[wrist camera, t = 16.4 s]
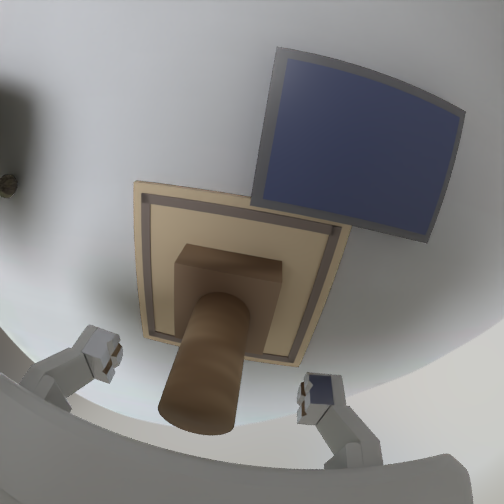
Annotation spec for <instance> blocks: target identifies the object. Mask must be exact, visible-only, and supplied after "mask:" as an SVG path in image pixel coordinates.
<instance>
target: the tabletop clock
mask: <svg viewBox="0 0 504 504" xmlns="http://www.w3.org/2000/svg"><path fill="white" fill-rule="evenodd" d="M16 189H17V181H16V179H15V177H14V176H13V175H4V176H3V177H2V178H1V179H0V196H1V197H3V198H10V197H11V196H12V195H13V194H14V193H15V192H16Z"/></svg>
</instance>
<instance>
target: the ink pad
mask: <svg viewBox="0 0 504 504" xmlns="http://www.w3.org/2000/svg"><path fill="white" fill-rule="evenodd" d="M465 113H466V111H464V110H462V109H460V108H458V107H457V106H455V105H453V104H451V103H449V102H447V101H445V100H443V99H441V98H439V97H437V96H435V95H433V94H431V93H429V92H426V91H424V90H422V89H420V88H417V87H415V86H413V85H410V84H408V83H406V82H403V81H401V80H398V79H396V78H393V77H390V76H388V75H385V74H382V73H379V72H376V71H374V70H371V69H368V68H364V67H361V66H358V65H355V64H351V63H348V62H345V61H341V60H337V59H333V58H330V57H326V56H321V55H317V54H313V53H308V52H303V51H298V50H293V49H288V48H282V47H277V49H276V55H275V60H274V66H273V71H272V77H271V83H270V88H269V94H268V100H267V106H266V112H265V117H264V123H263V129H262V135H261V141H260V147H259V153H258V159H257V165H256V171H255V177H254V183H253V189H252V195H251V201H250V206H255V207H261V208H266V209H272V210H277V211H282V212H288V213H293V214H298V215H303V216H308V217H313V218H318V219H323V220H328V221H332V222H337V223H342V224H346V225H351V226H356V227H360V228H365V229H369V230H373V231H378V232H382V233H386V234H390V235H395V236H399V237H403V238H407V239H411V240H415V241H419V242H423V243H427V242H428V240H429V238H430V235H431V232H432V230H433V227H434V225H435V222H436V219H437V216H438V214H439V211H440V208H441V205H442V202H443V199H444V196H445V193H446V190H447V187H448V183H449V180H450V177H451V173H452V170H453V166H454V162H455V158H456V154H457V150H458V146H459V142H460V138H461V133H462V128H463V123H464V118H465Z"/></svg>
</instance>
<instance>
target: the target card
mask: <svg viewBox="0 0 504 504" xmlns="http://www.w3.org/2000/svg"><path fill="white" fill-rule="evenodd" d="M250 201H251V197H247V196H241V195H235V194H229V193H223V192H217V191H210V190H204V189H197V188H190V187H183V186H176V185H168V184H160V183H152V182H144V181H135V182H134V241H135V260H136V274H137V285H138V296H139V305H140V314H141V322H142V329H143V336H144V338H148V339H152V340H155V341H159V342H163V343H167V344H171V345H175V346H180V344H181V342H182V339H179V338H175V331H174V263H175V261H176V259H177V258H178V256H179V254H180V253H181V251H182V250H183V248H184V246H185V245H186V243H187V244H192V245H198V246H203V247H209V248H214V249H219V250H225V251H230V252H236V253H241V254H247V255H252V256H257V257H263V258H268V259H274V260H279V261H282V287H281V290H280V294H279V298H278V301H277V305H276V309H275V312H274V316H273V319H272V323H271V327H270V330H269V334H268V337H267V340H266V344H265V347H264V351H263V354H262V355H259V354H253V353H247V352H245V356H244V360H250V361H256V362H263V363H270V364H277V365H284V366H292V367H299V365H300V363H301V361H302V359H303V356H304V354H305V352H306V349H307V347H308V345H309V342H310V340H311V337H312V335H313V333H314V330H315V328H316V325H317V323H318V320H319V318H320V315H321V313H322V310H323V308H324V305H325V302H326V300H327V297H328V294H329V292H330V289H331V286H332V284H333V281H334V278H335V275H336V272H337V270H338V267H339V264H340V261H341V258H342V255H343V252H344V249H345V246H346V243H347V240H348V237H349V234H350V231H351V227H352V226H351V225H346V224H342V223H337V222H332V221H328V220H323V219H318V218H313V217H308V216H303V215H298V214H293V213H288V212H282V211H277V210H272V209H266V208H261V207H255V206H250Z"/></svg>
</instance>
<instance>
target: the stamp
mask: <svg viewBox="0 0 504 504" xmlns="http://www.w3.org/2000/svg"><path fill="white" fill-rule="evenodd" d="M281 287H282V261H279V260H274V259H268V258H263V257H257V256H252V255H247V254H241V253H236V252H230V251H225V250H219V249H214V248H209V247H203V246H198V245H192V244H187V243H186V245H185V246H184V248H183V250H182V251H181V253H180V254H179V256H178V258H177V259H176V261H175V263H174V331H175V338H179V339H182V342H181V344H180V347H179V350H178V352H177V355H176V358H175V360H174V363H173V366H172V369H171V371H170V374H169V377H168V380H167V382H166V385H165V388H164V391H163V394H162V397H161V399H160V402H159V405H158V411H159V413H160V415H161V416H162V417H163V418H164V419H165V420H166V421H168V422H169V423H170V424H172V425H174V426H176V427H178V428H180V429H183V430H185V431H188V432H192V433H196V434H202V435H221V434H225V433H228V432H230V431H231V430H232V429H233V428H234V423H235V417H236V410H237V403H238V396H239V390H240V383H241V376H242V369H243V362H244V356H245V352H247V353H253V354H259V355H262V354H263V351H264V347H265V344H266V340H267V337H268V334H269V330H270V327H271V323H272V319H273V316H274V312H275V309H276V305H277V301H278V298H279V294H280V290H281Z"/></svg>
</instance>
